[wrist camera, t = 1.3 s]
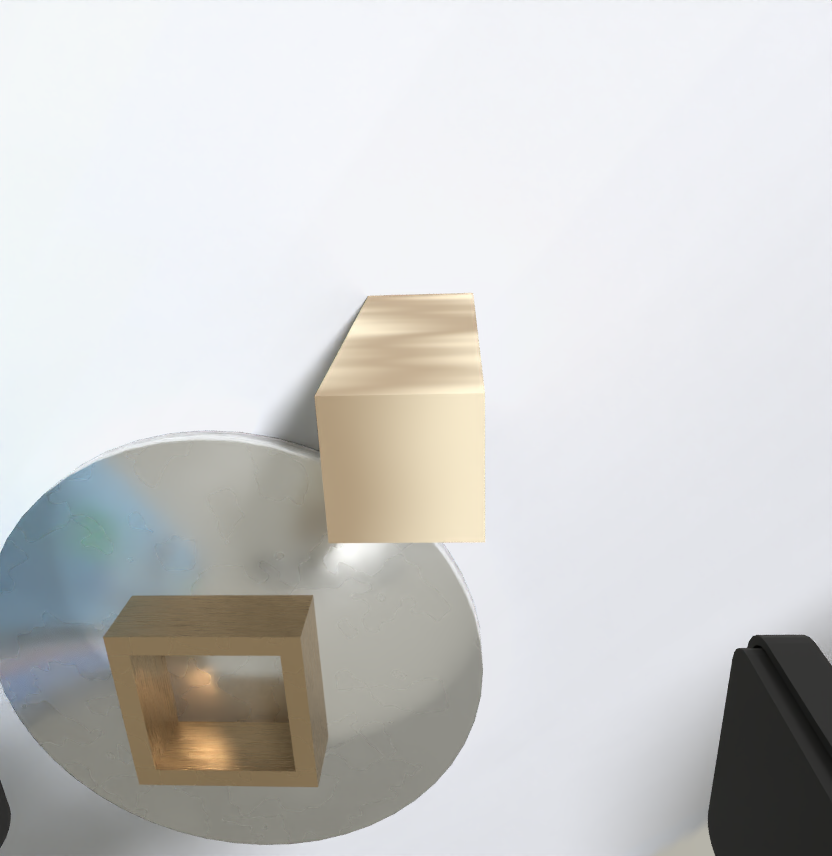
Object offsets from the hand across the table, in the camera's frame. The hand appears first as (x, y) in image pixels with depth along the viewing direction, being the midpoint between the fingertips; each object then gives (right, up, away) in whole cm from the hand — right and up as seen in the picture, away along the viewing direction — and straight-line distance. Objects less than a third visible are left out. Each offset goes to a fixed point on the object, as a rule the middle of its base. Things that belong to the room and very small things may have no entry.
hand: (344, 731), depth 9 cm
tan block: (+1, +7, +16) cm, 17 cm away
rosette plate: (-6, -6, +21) cm, 23 cm away
